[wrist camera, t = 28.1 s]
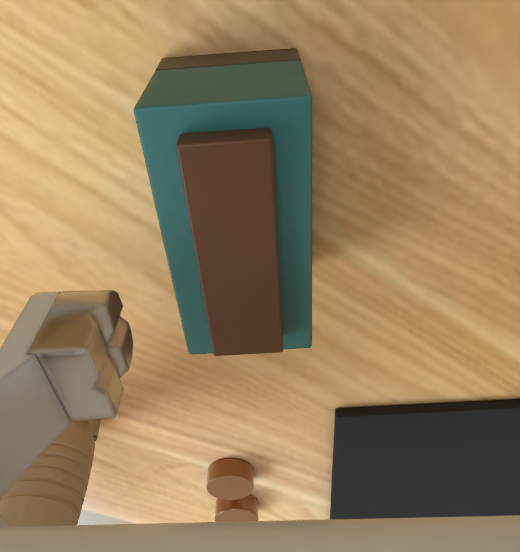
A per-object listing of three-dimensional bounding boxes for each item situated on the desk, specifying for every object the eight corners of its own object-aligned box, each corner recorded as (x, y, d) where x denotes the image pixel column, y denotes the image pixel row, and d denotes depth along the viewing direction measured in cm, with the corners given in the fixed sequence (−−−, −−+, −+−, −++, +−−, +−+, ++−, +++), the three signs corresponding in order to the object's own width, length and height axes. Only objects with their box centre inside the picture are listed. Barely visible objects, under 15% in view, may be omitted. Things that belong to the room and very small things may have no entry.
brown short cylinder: (252, 457, 31) (252, 475, 30) (254, 482, 32) (254, 499, 31) (205, 458, 31) (204, 476, 30) (210, 483, 32) (208, 500, 31)
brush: (297, 47, 16) (315, 106, 11) (300, 266, 21) (314, 365, 17) (162, 57, 16) (125, 119, 11) (200, 272, 21) (186, 372, 17)
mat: (764, 386, 27) (773, 394, 26) (643, 521, 37) (648, 529, 36) (335, 408, 28) (336, 417, 27) (329, 535, 37) (330, 543, 37)
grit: (254, 490, 33) (255, 507, 32) (260, 511, 35) (260, 528, 34) (212, 493, 33) (211, 511, 32) (220, 514, 35) (219, 531, 34)
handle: (19, 430, 28) (-147, 805, 17) (41, 364, 25) (-150, 779, 13) (99, 450, 30) (-2, 810, 18) (131, 390, 26) (32, 788, 15)
